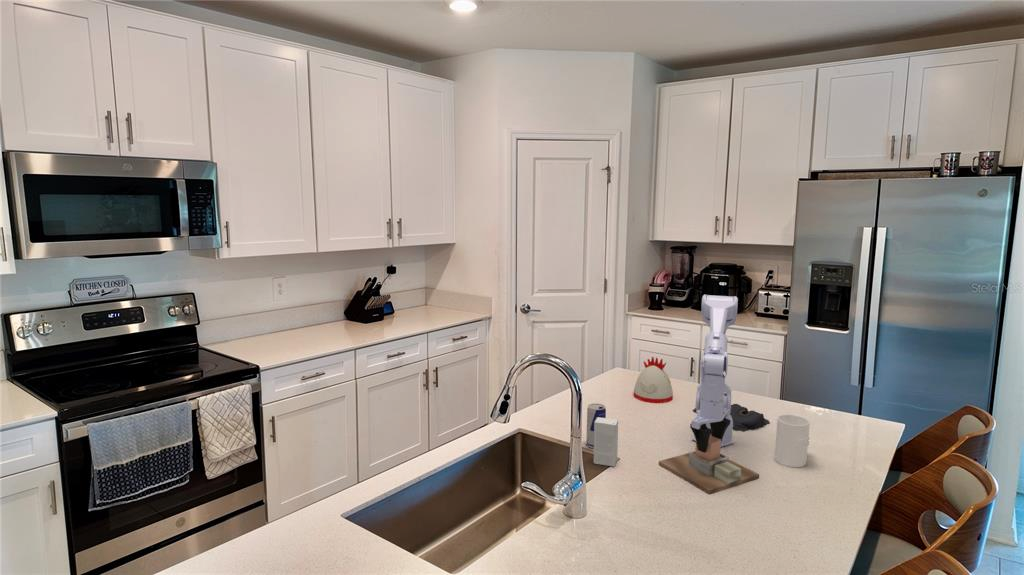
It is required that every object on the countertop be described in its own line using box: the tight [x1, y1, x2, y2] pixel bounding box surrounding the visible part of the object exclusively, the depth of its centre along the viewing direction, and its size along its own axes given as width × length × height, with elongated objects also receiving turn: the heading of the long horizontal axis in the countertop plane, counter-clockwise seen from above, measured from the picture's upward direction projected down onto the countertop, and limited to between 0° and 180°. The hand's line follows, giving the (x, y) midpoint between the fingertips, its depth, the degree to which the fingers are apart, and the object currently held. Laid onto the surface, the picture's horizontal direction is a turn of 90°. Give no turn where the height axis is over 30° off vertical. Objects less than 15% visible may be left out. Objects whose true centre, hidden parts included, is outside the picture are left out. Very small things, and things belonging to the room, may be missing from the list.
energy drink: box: [586, 403, 607, 450], centre depth 170 cm, size 5×5×12 cm
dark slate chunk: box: [692, 403, 770, 433], centre depth 193 cm, size 15×22×5 cm
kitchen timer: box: [633, 356, 674, 404], centre depth 212 cm, size 14×14×15 cm
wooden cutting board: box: [658, 450, 760, 495], centre depth 155 cm, size 18×18×5 cm
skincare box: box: [593, 417, 619, 467], centre depth 160 cm, size 6×4×12 cm
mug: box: [774, 414, 810, 468], centre depth 162 cm, size 8×12×12 cm
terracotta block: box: [695, 436, 722, 462], centre depth 155 cm, size 4×4×5 cm
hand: (709, 447), depth 155 cm, fingers open, 6 cm apart
